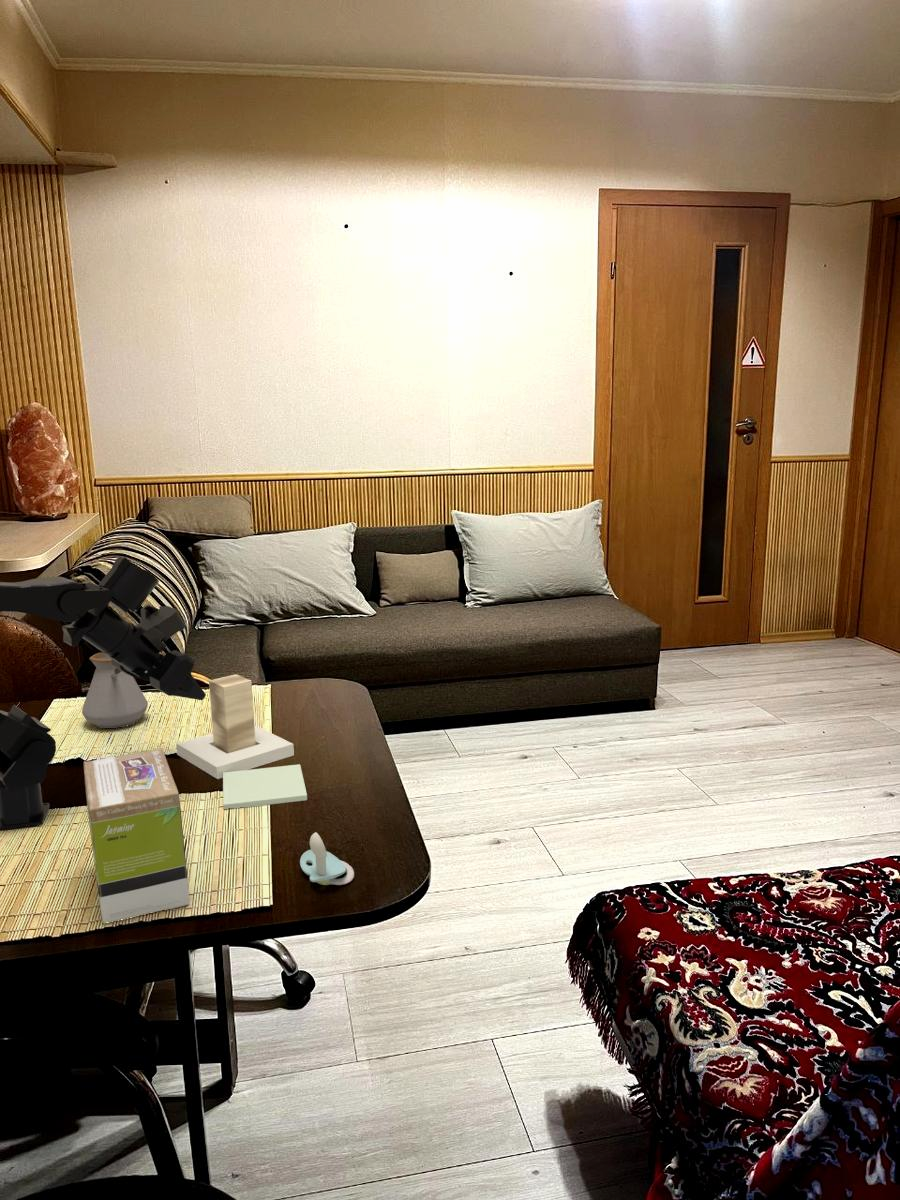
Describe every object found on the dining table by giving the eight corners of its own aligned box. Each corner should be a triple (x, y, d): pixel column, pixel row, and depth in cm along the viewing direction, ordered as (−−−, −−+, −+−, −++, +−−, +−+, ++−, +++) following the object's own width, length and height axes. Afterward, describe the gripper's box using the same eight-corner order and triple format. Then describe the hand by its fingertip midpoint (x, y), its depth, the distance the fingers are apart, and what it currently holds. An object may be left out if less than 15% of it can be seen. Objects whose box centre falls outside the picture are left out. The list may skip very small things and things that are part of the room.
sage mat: (307, 800, 135) (306, 795, 135) (223, 809, 132) (223, 804, 132) (300, 768, 147) (300, 764, 146) (223, 777, 144) (222, 772, 144)
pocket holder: (294, 755, 152) (293, 744, 152) (217, 779, 143) (216, 767, 143) (251, 733, 162) (250, 722, 162) (177, 754, 153) (176, 743, 153)
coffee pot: (80, 717, 172) (72, 640, 169) (144, 707, 177) (137, 632, 174) (92, 756, 153) (83, 670, 150) (163, 743, 158) (155, 660, 155)
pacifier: (340, 859, 118) (296, 870, 115) (340, 814, 117) (295, 824, 114) (363, 885, 112) (316, 897, 109) (362, 838, 111) (315, 848, 108)
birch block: (256, 755, 153) (251, 680, 150) (229, 763, 149) (223, 687, 146) (241, 747, 156) (236, 674, 153) (214, 755, 153) (208, 680, 150)
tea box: (93, 867, 117) (81, 758, 114) (174, 850, 121) (165, 745, 118) (101, 927, 103) (87, 806, 100) (192, 907, 107) (182, 789, 104)
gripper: (176, 602, 131) (249, 660, 141) (123, 584, 145) (193, 638, 155) (128, 666, 128) (206, 721, 138) (78, 641, 142) (153, 693, 151)
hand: (190, 690), depth 145 cm, fingers open, 9 cm apart
